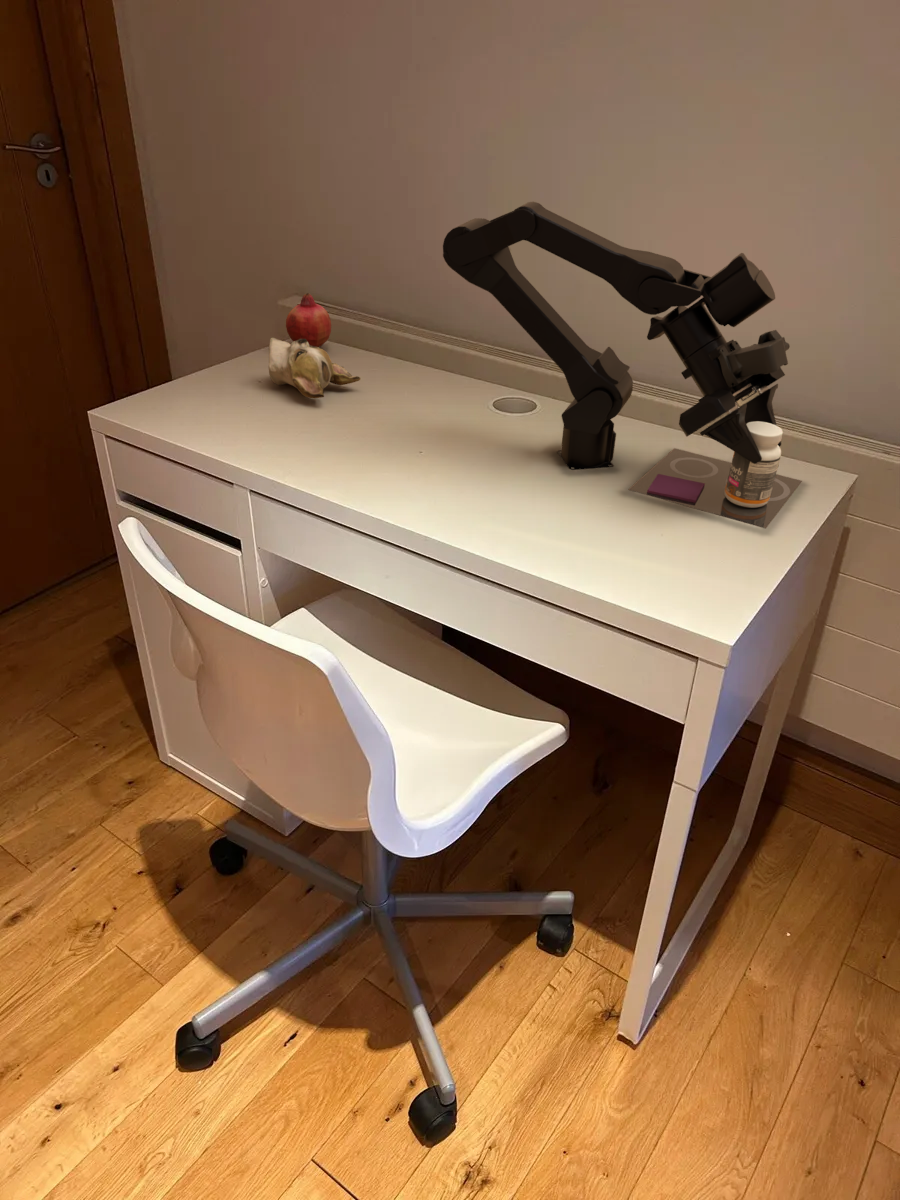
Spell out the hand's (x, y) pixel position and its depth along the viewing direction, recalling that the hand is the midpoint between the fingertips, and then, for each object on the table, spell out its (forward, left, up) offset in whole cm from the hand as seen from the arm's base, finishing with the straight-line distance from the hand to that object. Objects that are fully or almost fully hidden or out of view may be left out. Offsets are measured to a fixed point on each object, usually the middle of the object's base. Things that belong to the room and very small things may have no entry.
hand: (768, 454), depth 118 cm
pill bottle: (-1, +1, -7) cm, 7 cm away
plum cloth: (-9, +6, -7) cm, 13 cm away
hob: (-3, +6, -7) cm, 10 cm away
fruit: (-51, +71, -8) cm, 88 cm away
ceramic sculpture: (-54, +51, -8) cm, 74 cm away
